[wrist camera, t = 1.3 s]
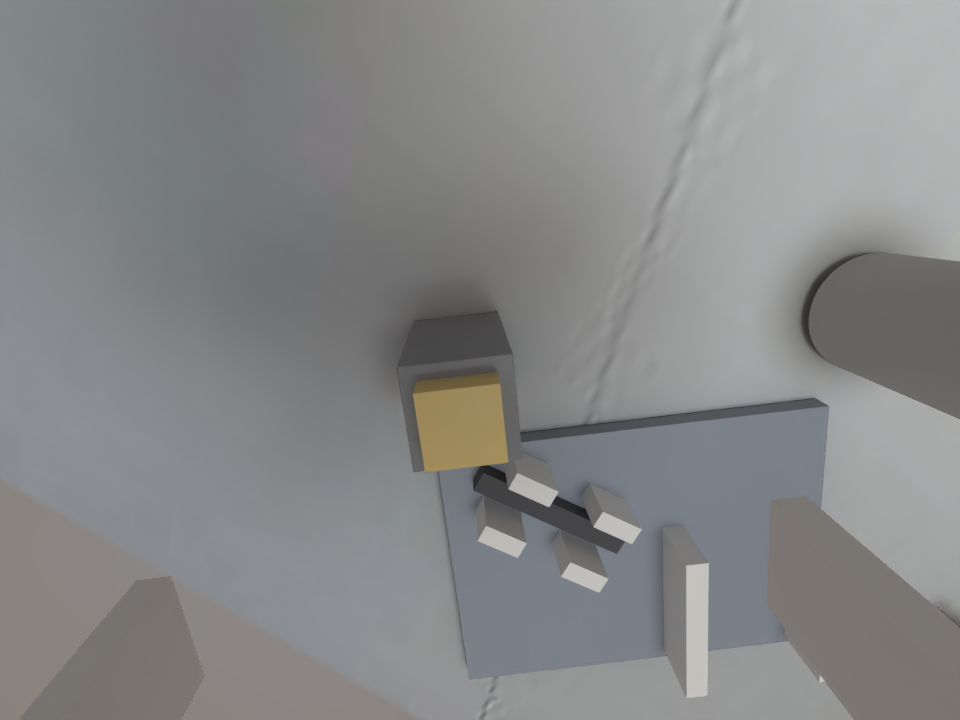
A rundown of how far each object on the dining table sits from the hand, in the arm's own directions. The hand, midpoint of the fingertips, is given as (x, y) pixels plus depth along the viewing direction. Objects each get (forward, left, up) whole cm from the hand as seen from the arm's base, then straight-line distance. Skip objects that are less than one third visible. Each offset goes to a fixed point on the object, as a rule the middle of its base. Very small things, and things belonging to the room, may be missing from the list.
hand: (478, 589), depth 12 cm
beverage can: (0, +22, -19) cm, 29 cm away
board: (+13, +9, -19) cm, 24 cm away
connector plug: (0, 0, -19) cm, 19 cm away
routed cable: (+9, +4, -17) cm, 20 cm away
